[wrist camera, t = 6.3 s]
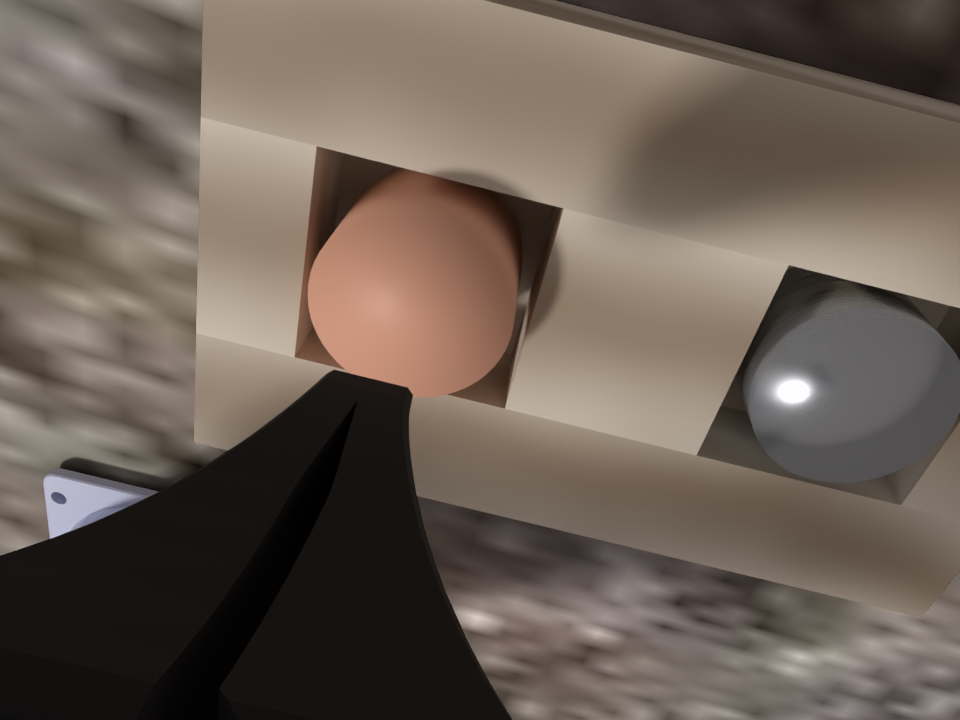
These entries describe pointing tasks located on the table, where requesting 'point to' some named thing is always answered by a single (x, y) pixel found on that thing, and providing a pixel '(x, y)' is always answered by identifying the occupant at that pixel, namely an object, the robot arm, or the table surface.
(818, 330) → the grey button
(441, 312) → the terracotta button
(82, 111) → the table surface
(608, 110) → the button panel
